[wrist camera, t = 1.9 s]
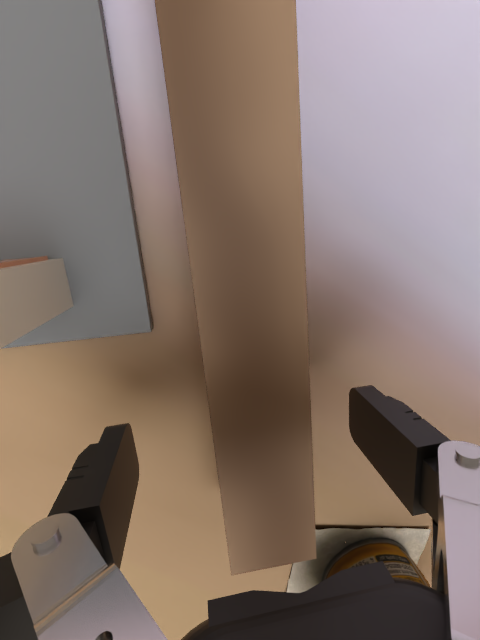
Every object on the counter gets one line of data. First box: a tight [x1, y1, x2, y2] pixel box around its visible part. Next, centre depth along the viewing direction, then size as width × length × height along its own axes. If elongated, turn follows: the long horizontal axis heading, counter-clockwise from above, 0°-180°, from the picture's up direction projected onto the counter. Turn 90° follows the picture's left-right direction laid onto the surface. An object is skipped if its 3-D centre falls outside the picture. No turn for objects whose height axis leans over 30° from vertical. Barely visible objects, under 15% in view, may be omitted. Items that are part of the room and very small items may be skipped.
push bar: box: [155, 0, 316, 575], centre depth 13 cm, size 4×24×5 cm, turn 5°
